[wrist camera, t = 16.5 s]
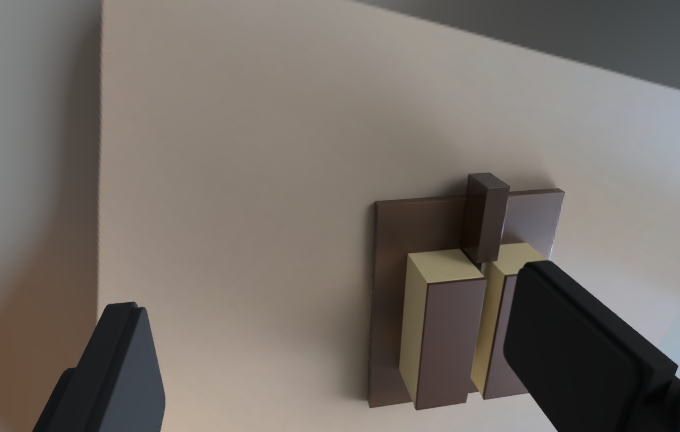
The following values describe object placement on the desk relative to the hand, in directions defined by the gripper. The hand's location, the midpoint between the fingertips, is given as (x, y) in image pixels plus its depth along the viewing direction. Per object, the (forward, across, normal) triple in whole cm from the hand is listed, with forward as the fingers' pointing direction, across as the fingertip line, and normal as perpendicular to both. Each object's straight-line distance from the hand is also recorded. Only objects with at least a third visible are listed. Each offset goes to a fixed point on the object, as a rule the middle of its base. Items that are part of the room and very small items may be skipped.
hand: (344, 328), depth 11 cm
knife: (+25, -17, +13) cm, 33 cm away
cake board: (+26, -17, +20) cm, 37 cm away
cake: (+26, -17, +20) cm, 37 cm away
